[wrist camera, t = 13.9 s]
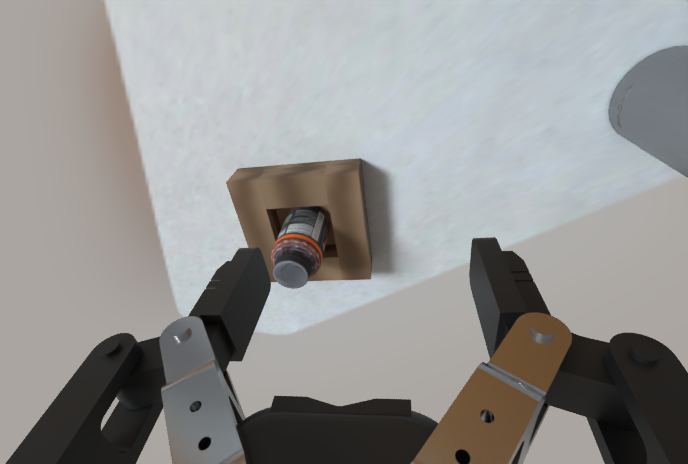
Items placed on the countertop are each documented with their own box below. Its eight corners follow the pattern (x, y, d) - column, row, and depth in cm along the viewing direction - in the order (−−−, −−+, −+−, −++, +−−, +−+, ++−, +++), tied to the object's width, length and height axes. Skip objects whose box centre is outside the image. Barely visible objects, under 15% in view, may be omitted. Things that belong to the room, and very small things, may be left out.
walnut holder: (360, 158, 43) (358, 172, 40) (372, 260, 52) (370, 279, 48) (237, 168, 46) (226, 182, 42) (268, 264, 54) (260, 282, 51)
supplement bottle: (324, 244, 50) (309, 302, 40) (283, 231, 49) (259, 287, 40) (336, 210, 46) (323, 264, 37) (292, 195, 46) (268, 247, 37)
